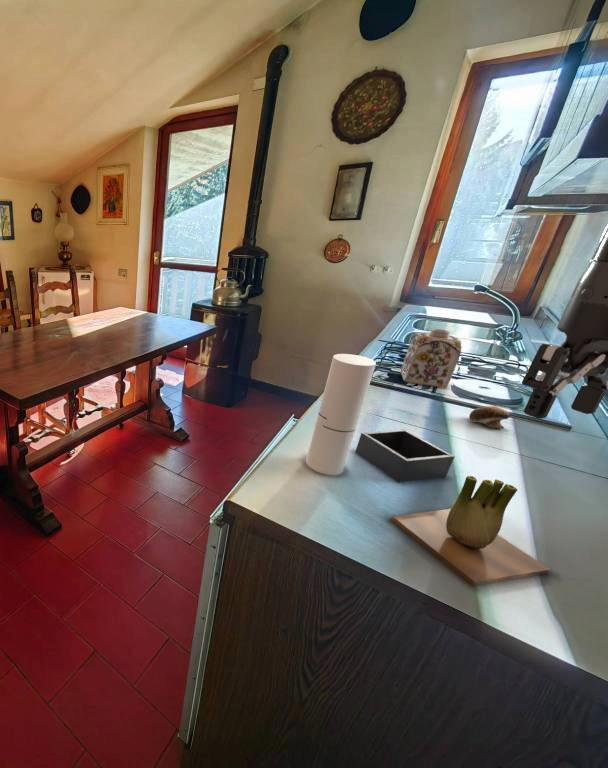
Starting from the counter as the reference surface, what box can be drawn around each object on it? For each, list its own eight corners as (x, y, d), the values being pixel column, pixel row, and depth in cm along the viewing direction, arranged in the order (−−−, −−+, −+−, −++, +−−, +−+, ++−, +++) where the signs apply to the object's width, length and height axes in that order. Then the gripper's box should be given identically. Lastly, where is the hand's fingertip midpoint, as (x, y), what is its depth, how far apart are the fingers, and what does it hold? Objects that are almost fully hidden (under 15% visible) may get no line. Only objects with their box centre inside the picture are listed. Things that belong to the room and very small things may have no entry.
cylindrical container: (326, 456, 89) (355, 353, 80) (350, 475, 83) (385, 364, 73) (298, 459, 88) (325, 354, 78) (320, 478, 82) (352, 366, 72)
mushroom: (521, 426, 98) (512, 402, 99) (480, 431, 101) (471, 407, 103) (507, 428, 105) (499, 405, 106) (469, 432, 108) (461, 410, 110)
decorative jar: (447, 390, 127) (468, 337, 121) (403, 382, 133) (421, 331, 126) (439, 378, 137) (459, 329, 130) (399, 372, 142) (415, 324, 136)
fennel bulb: (437, 535, 65) (464, 475, 61) (448, 523, 68) (475, 466, 63) (482, 558, 61) (515, 496, 56) (492, 545, 63) (525, 484, 59)
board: (454, 513, 72) (457, 507, 72) (547, 575, 60) (550, 569, 59) (390, 521, 70) (392, 515, 69) (471, 587, 57) (475, 581, 57)
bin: (397, 449, 93) (404, 429, 90) (445, 478, 82) (454, 456, 80) (354, 453, 91) (361, 432, 89) (398, 484, 80) (407, 461, 78)
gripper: (613, 307, 44) (550, 431, 51) (705, 302, 47) (634, 422, 53) (535, 296, 51) (487, 406, 58) (618, 292, 54) (564, 399, 60)
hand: (558, 413), depth 55 cm, fingers open, 8 cm apart
